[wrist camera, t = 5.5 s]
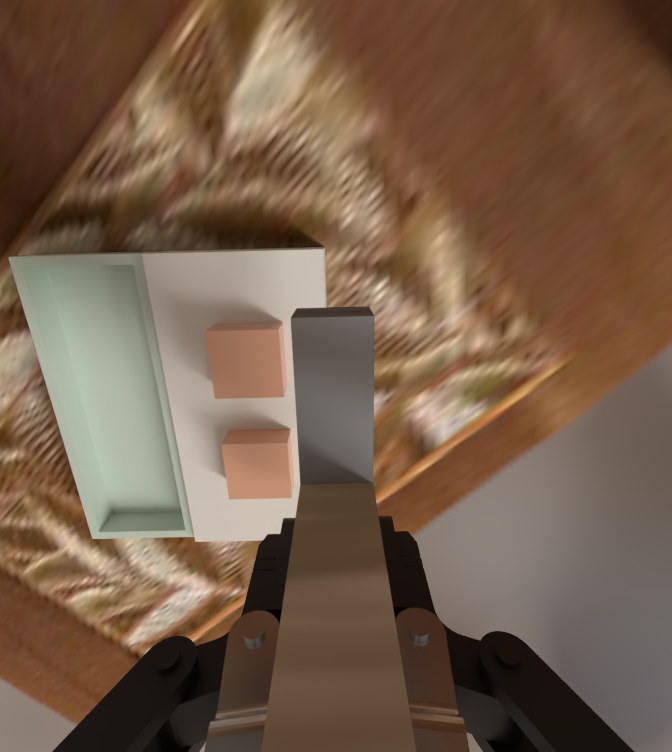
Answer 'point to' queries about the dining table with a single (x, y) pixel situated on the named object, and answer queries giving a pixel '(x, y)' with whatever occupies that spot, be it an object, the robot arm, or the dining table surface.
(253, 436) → the tile
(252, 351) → the tile
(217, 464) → the stone plate
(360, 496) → the scraper
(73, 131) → the dining table surface
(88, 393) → the tray
